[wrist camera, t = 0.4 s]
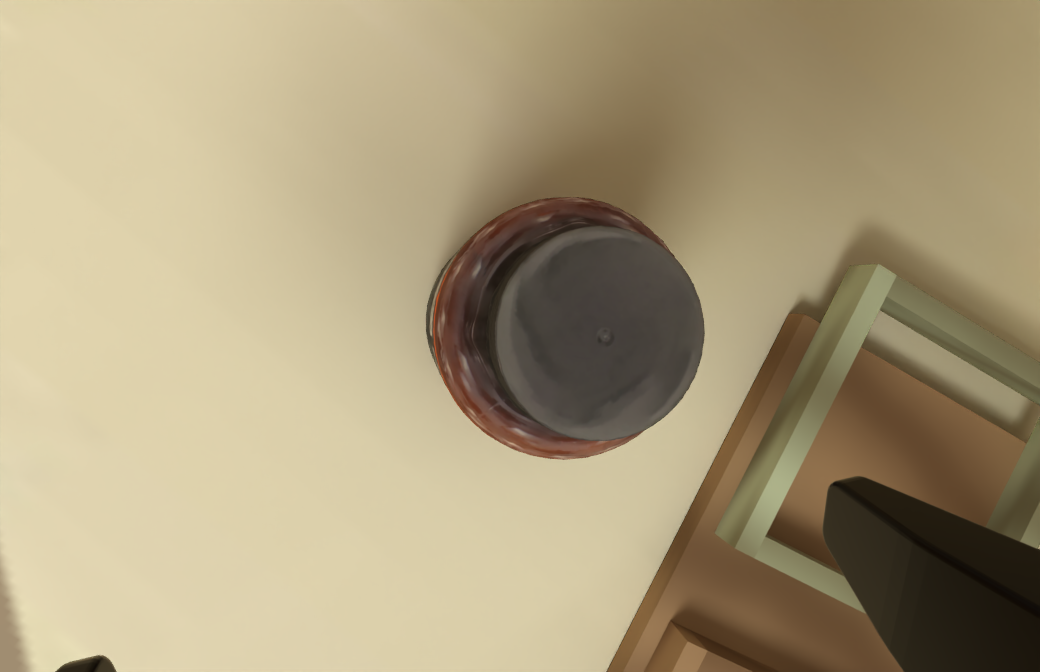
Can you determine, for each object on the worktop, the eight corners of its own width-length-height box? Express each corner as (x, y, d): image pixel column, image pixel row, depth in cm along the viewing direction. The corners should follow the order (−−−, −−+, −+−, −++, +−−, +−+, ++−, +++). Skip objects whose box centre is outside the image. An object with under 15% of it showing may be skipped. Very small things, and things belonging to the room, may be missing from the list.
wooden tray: (779, 969, 27) (817, 1037, 24) (507, 867, 25) (519, 930, 22) (1057, 402, 27) (1122, 413, 25) (817, 257, 25) (861, 253, 23)
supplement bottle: (629, 306, 24) (820, 312, 13) (525, 441, 24) (631, 565, 13) (497, 196, 23) (584, 101, 12) (387, 334, 23) (371, 367, 12)
